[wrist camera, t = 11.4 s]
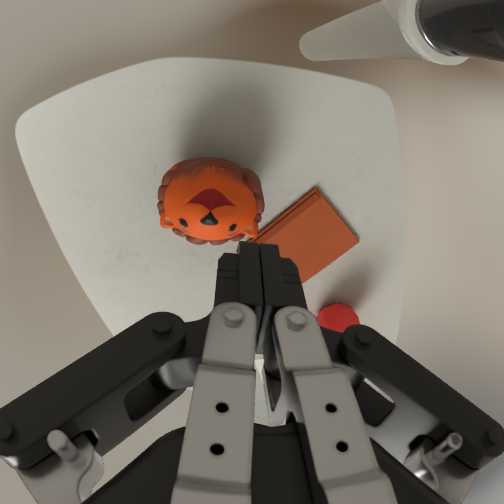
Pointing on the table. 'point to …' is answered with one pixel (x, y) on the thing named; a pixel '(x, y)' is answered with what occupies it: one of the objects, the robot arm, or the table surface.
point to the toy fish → (210, 201)
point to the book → (309, 234)
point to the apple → (337, 317)
